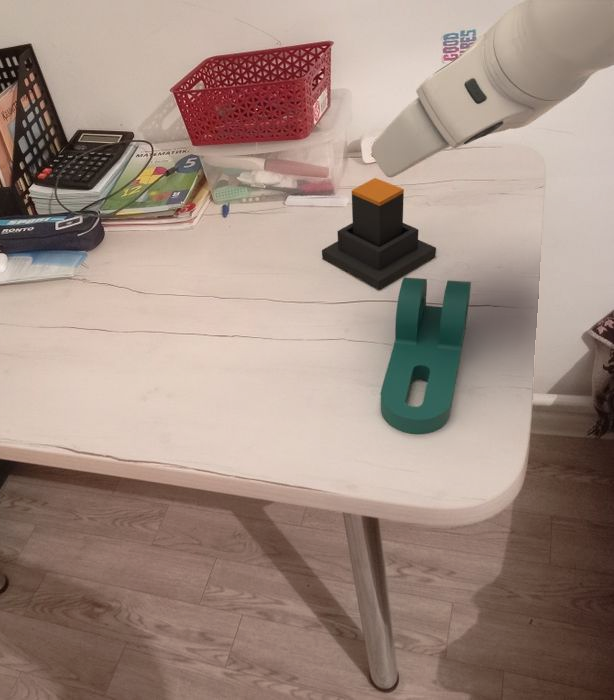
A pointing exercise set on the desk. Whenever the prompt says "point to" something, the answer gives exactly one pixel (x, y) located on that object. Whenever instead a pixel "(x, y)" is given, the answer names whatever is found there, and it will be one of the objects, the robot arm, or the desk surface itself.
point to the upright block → (377, 212)
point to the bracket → (425, 356)
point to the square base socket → (378, 256)
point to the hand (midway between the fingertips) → (420, 150)
